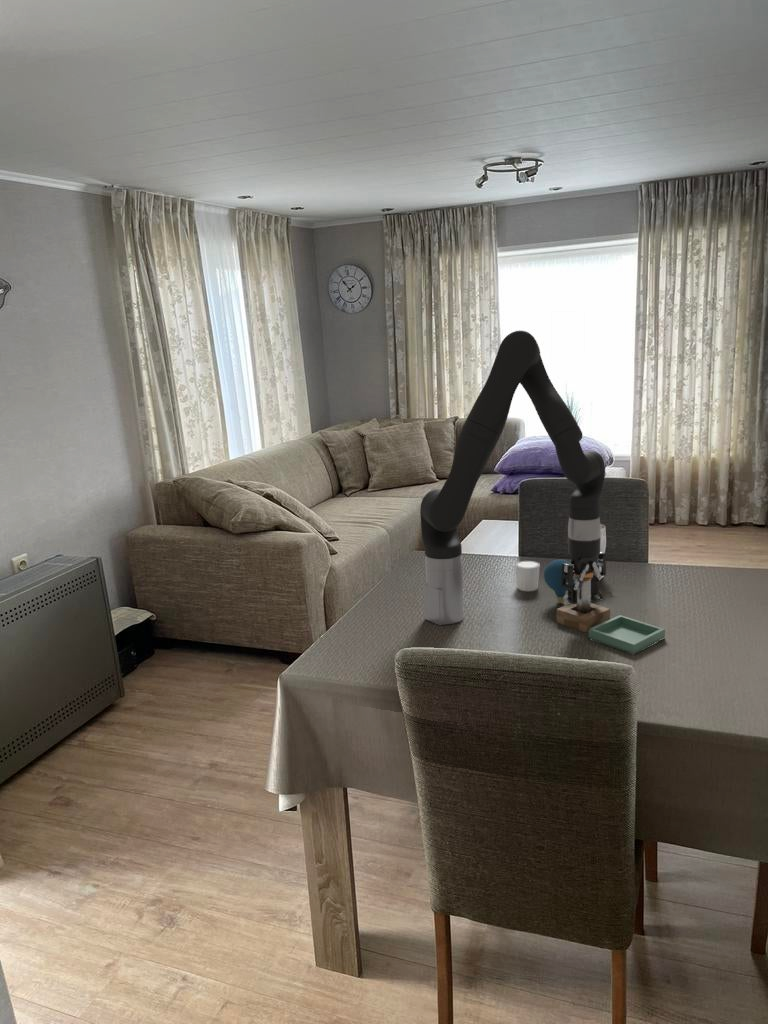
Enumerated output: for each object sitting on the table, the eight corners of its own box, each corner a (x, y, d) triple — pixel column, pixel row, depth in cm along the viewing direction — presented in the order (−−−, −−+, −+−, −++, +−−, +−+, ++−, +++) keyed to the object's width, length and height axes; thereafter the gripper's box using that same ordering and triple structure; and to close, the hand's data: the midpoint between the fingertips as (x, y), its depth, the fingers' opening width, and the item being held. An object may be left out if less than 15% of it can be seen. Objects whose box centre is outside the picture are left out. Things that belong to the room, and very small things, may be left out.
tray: (633, 655, 159) (634, 644, 159) (588, 638, 169) (588, 629, 168) (664, 639, 166) (665, 629, 166) (619, 624, 176) (620, 614, 175)
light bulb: (553, 611, 186) (553, 566, 183) (538, 600, 194) (538, 557, 191) (582, 606, 188) (583, 562, 185) (566, 595, 196) (566, 553, 193)
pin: (584, 627, 175) (585, 576, 172) (570, 622, 179) (570, 572, 176) (596, 622, 178) (596, 572, 175) (581, 617, 181) (582, 568, 178)
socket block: (586, 632, 172) (586, 619, 171) (556, 622, 179) (556, 609, 178) (609, 622, 177) (610, 608, 176) (579, 612, 184) (579, 599, 183)
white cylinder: (542, 591, 200) (542, 567, 199) (517, 592, 200) (517, 568, 199) (537, 583, 207) (537, 559, 205) (513, 584, 207) (513, 560, 205)
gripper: (578, 544, 166) (578, 610, 170) (615, 531, 174) (614, 594, 178) (552, 538, 172) (552, 602, 176) (589, 526, 180) (589, 587, 184)
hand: (583, 598), depth 177 cm, fingers open, 8 cm apart
